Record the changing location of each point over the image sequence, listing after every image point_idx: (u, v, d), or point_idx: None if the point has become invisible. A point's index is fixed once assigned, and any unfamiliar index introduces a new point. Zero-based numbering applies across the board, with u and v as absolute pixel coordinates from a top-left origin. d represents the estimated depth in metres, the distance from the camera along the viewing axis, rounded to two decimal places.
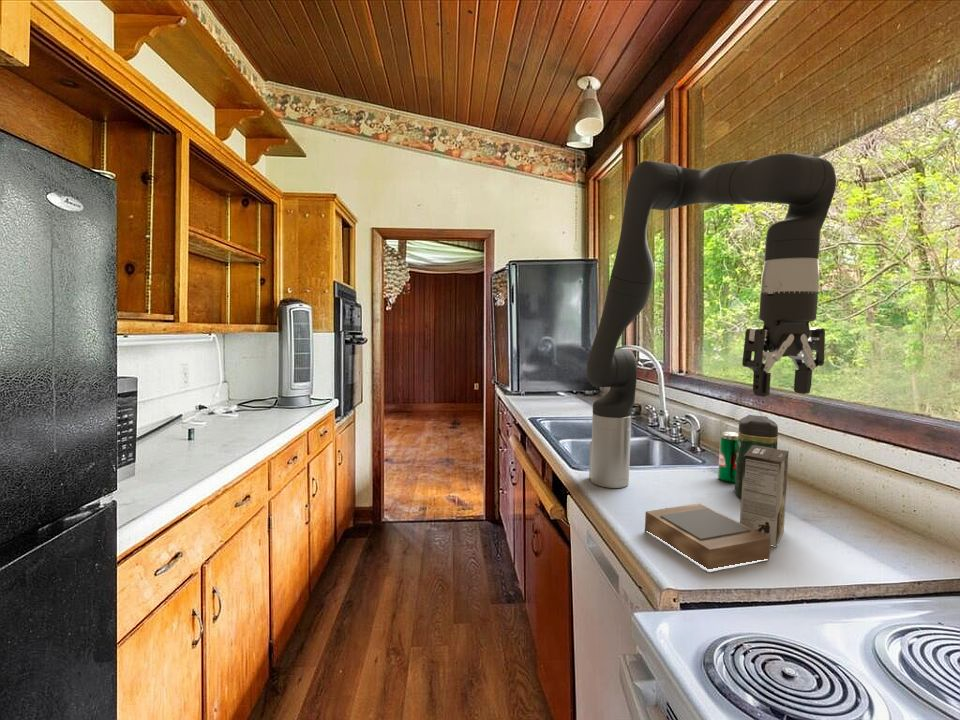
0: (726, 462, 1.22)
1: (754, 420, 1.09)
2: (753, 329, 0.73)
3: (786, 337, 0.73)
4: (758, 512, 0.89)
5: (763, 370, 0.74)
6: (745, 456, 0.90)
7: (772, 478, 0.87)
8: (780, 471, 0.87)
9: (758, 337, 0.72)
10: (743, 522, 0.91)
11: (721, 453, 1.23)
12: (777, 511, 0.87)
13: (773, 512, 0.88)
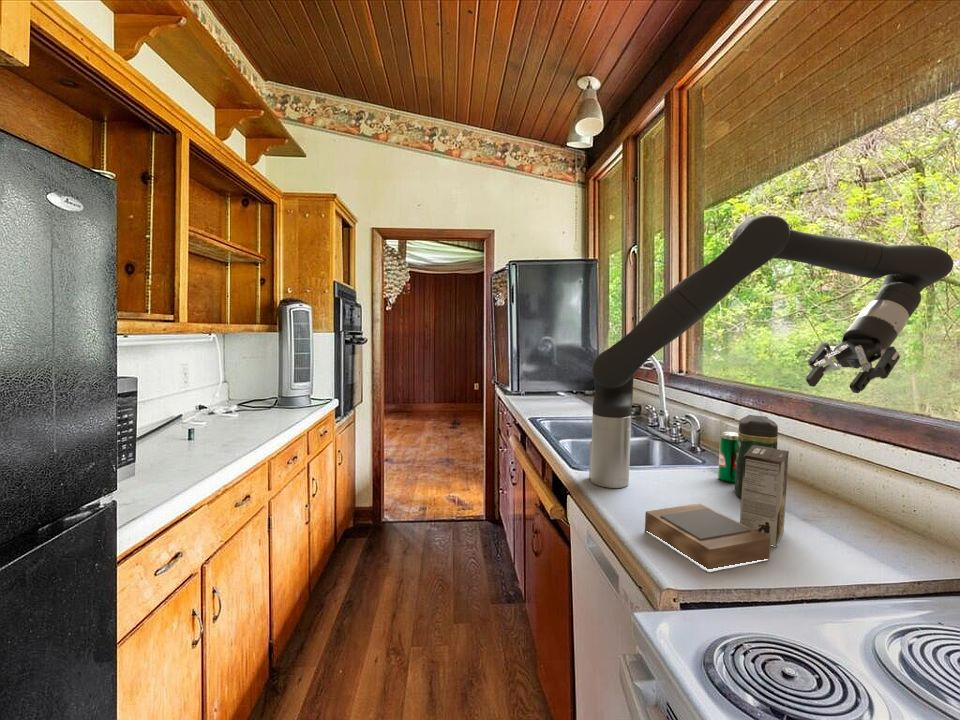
0: (726, 462, 1.22)
1: (754, 420, 1.09)
2: None
3: None
4: (758, 513, 0.89)
5: (872, 378, 0.91)
6: (745, 456, 0.90)
7: (772, 478, 0.87)
8: (780, 471, 0.87)
9: (897, 360, 0.90)
10: (743, 522, 0.91)
11: (721, 453, 1.23)
12: (777, 511, 0.87)
13: (773, 512, 0.88)
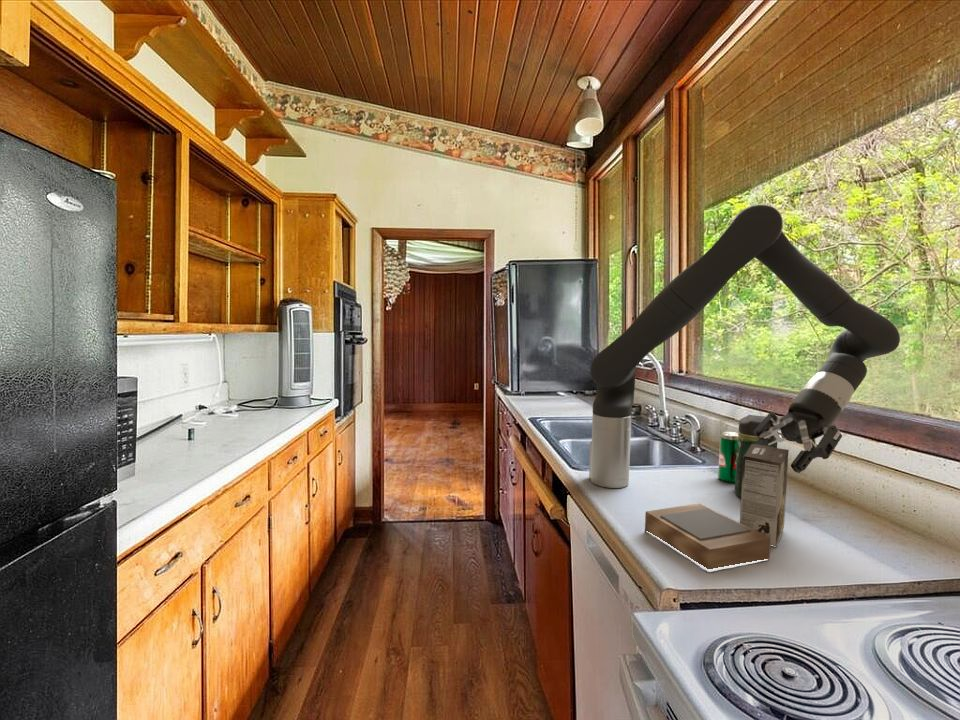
0: (726, 462, 1.22)
1: (754, 420, 1.09)
2: None
3: None
4: (758, 513, 0.89)
5: (814, 457, 0.89)
6: (745, 457, 0.89)
7: (772, 479, 0.87)
8: (780, 472, 0.86)
9: (839, 440, 0.88)
10: (743, 522, 0.91)
11: (721, 453, 1.23)
12: (777, 512, 0.87)
13: (773, 513, 0.87)
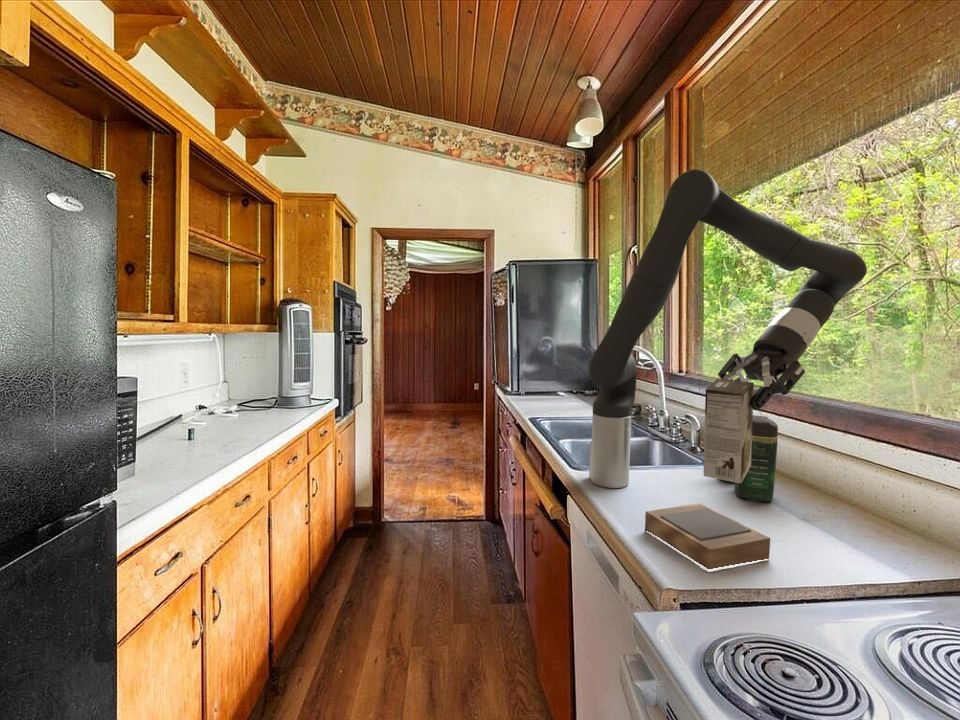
0: None
1: (754, 420, 1.09)
2: (801, 366, 0.84)
3: None
4: (722, 448, 0.84)
5: (773, 394, 0.85)
6: (707, 390, 0.84)
7: (735, 411, 0.82)
8: (743, 403, 0.81)
9: (801, 375, 0.84)
10: (707, 460, 0.86)
11: None
12: (741, 445, 0.82)
13: (737, 447, 0.83)
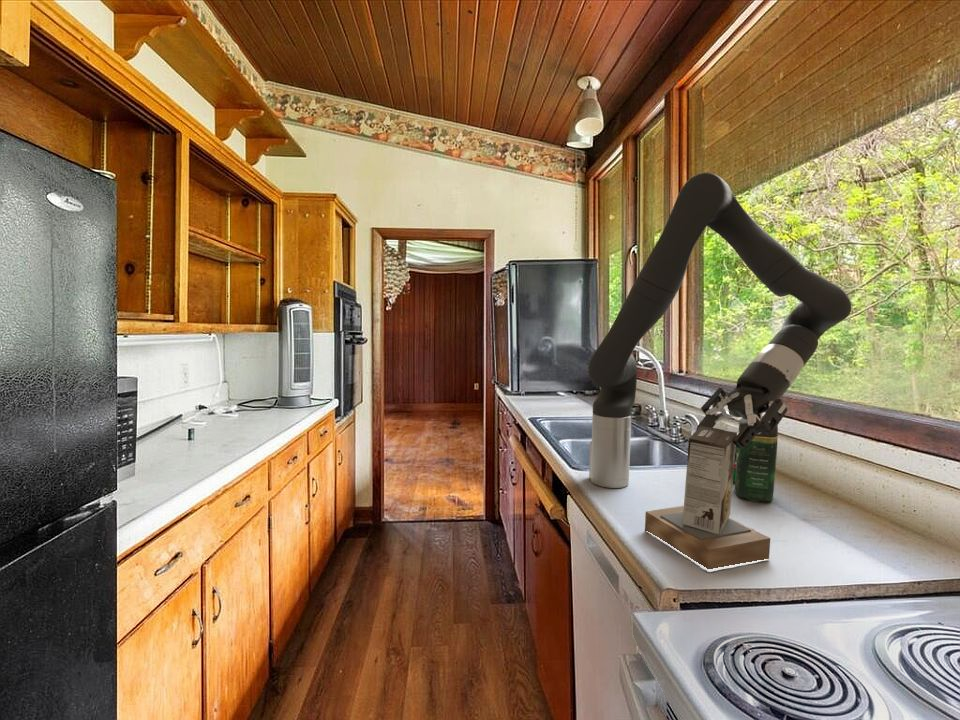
0: None
1: None
2: (784, 404, 0.83)
3: None
4: (702, 498, 0.84)
5: (758, 432, 0.84)
6: (690, 439, 0.84)
7: (717, 463, 0.82)
8: (725, 455, 0.81)
9: (784, 414, 0.83)
10: (687, 508, 0.86)
11: None
12: (721, 497, 0.82)
13: (717, 498, 0.82)
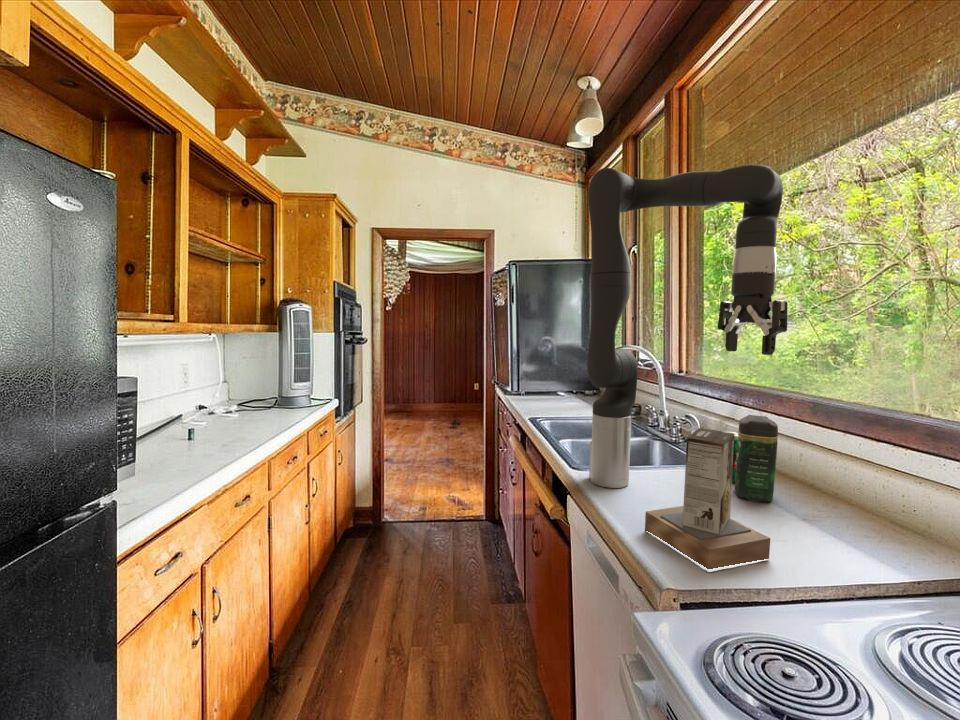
0: None
1: (754, 420, 1.09)
2: (781, 301, 0.91)
3: None
4: (701, 498, 0.84)
5: (776, 333, 0.93)
6: (688, 439, 0.85)
7: (715, 461, 0.83)
8: (723, 454, 0.82)
9: (787, 307, 0.91)
10: (686, 509, 0.86)
11: None
12: (720, 496, 0.83)
13: (716, 498, 0.83)
